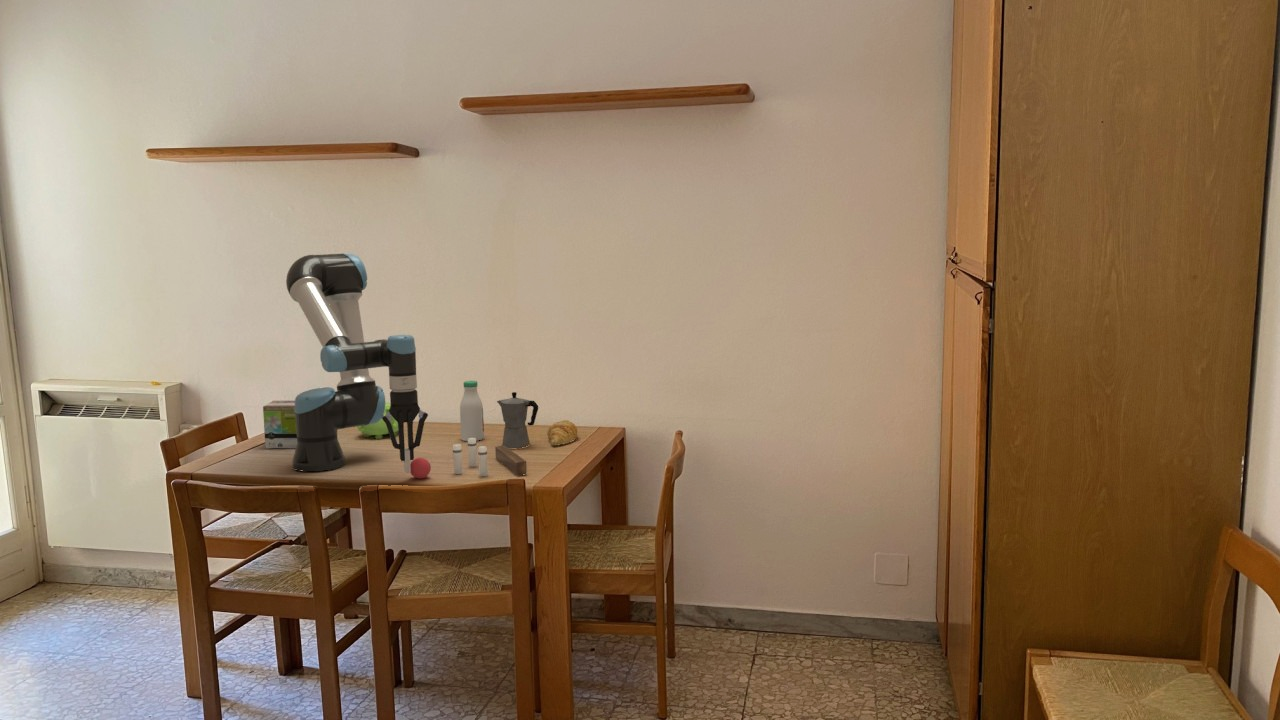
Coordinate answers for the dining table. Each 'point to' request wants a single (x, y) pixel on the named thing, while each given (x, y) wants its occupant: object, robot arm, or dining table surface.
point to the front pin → (457, 458)
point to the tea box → (280, 424)
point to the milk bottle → (471, 413)
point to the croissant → (562, 432)
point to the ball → (420, 468)
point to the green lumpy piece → (379, 426)
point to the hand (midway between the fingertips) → (407, 471)
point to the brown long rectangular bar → (511, 460)
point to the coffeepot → (516, 421)
